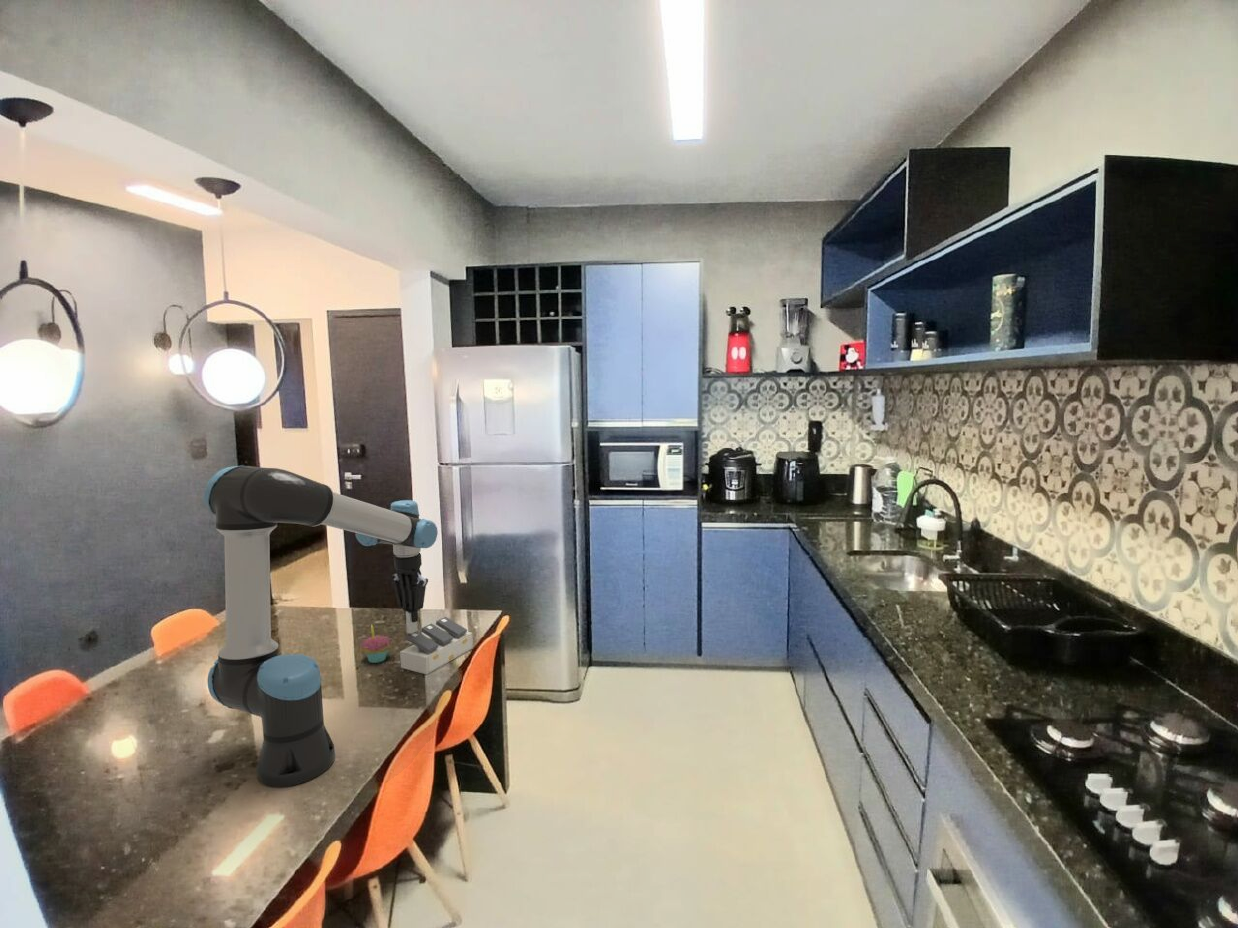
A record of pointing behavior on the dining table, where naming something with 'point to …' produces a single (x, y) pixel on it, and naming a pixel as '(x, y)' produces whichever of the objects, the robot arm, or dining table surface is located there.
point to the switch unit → (435, 654)
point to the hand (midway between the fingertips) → (412, 631)
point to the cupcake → (376, 647)
